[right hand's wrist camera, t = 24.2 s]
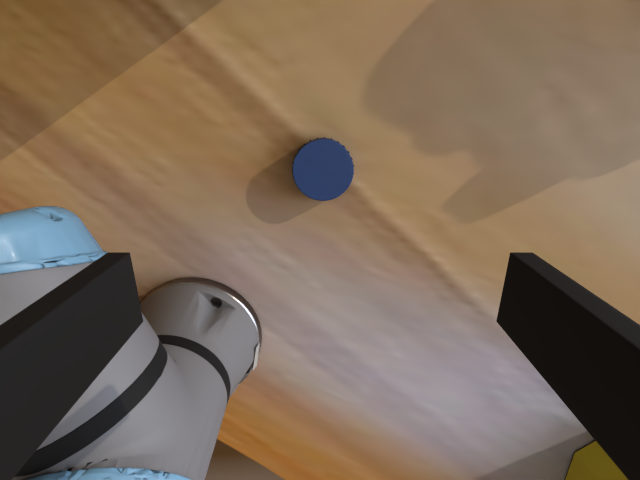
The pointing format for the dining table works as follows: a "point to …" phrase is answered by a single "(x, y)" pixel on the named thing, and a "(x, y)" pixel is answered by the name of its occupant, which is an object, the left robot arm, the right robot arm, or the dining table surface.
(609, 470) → the crown
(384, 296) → the dining table surface
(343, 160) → the lid
